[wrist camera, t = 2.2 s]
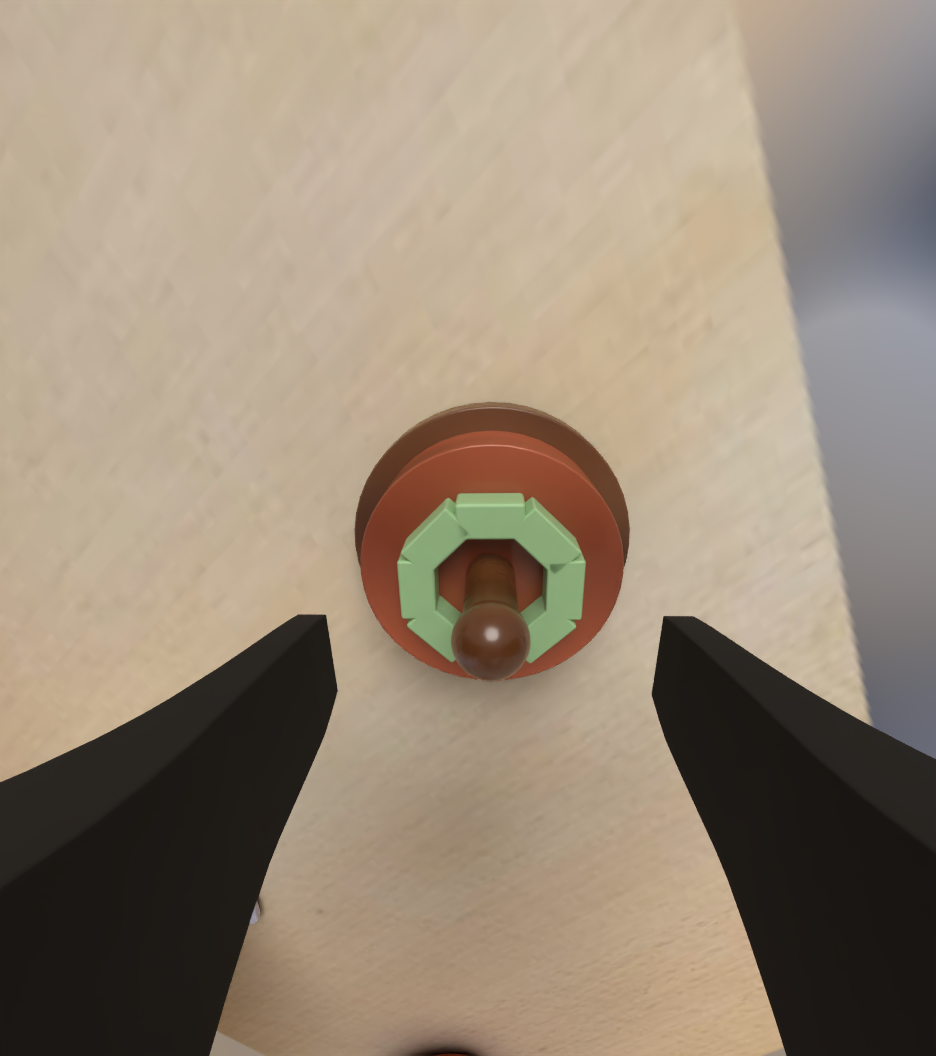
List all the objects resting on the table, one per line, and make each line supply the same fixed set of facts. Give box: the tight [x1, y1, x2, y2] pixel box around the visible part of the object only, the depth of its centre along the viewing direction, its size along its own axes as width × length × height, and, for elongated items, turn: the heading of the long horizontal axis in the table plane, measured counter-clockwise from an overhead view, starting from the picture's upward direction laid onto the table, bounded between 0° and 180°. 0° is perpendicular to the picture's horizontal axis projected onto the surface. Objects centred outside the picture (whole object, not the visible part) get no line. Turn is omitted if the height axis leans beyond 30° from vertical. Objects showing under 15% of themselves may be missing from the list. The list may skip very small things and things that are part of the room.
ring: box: [397, 493, 586, 663], centre depth 13 cm, size 5×5×1 cm
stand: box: [355, 402, 630, 681], centre depth 13 cm, size 9×9×7 cm
